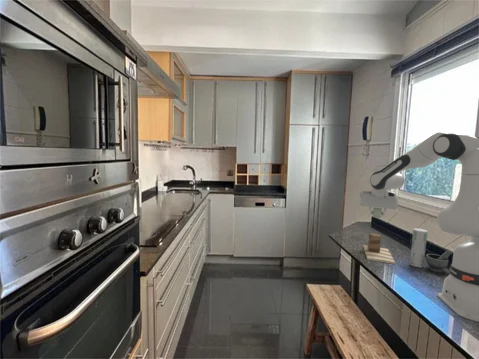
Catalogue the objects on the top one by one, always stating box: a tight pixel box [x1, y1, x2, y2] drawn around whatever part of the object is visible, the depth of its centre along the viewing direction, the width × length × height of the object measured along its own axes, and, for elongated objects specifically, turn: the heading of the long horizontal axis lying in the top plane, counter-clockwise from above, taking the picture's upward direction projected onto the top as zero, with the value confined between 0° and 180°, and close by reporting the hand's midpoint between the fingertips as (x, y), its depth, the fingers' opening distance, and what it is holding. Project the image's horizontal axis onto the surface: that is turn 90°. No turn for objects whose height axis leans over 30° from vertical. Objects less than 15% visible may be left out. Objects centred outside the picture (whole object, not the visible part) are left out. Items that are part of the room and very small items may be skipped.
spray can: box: [409, 228, 429, 268], centre depth 144 cm, size 6×6×20 cm
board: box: [363, 245, 396, 265], centre depth 157 cm, size 22×14×1 cm, turn 159°
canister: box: [372, 207, 383, 219], centre depth 159 cm, size 5×5×6 cm
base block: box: [367, 239, 381, 253], centre depth 161 cm, size 6×6×5 cm
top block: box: [368, 232, 382, 245], centre depth 161 cm, size 5×5×5 cm
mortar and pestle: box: [425, 248, 453, 273], centre depth 139 cm, size 11×9×12 cm
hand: (377, 214), depth 159 cm, fingers closed on canister, 5 cm apart
